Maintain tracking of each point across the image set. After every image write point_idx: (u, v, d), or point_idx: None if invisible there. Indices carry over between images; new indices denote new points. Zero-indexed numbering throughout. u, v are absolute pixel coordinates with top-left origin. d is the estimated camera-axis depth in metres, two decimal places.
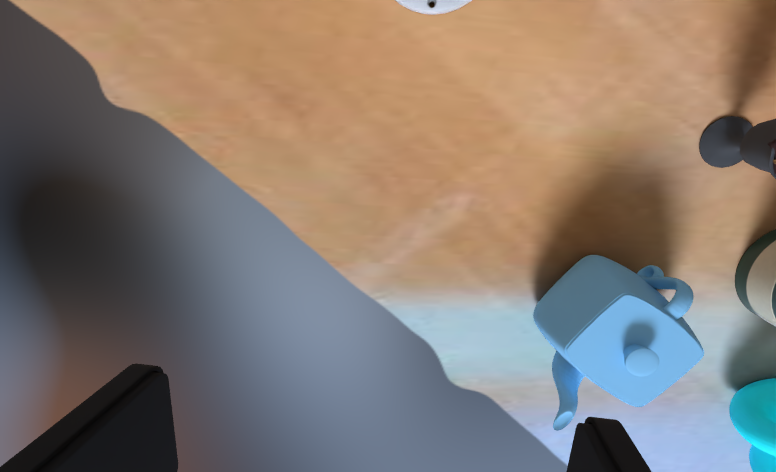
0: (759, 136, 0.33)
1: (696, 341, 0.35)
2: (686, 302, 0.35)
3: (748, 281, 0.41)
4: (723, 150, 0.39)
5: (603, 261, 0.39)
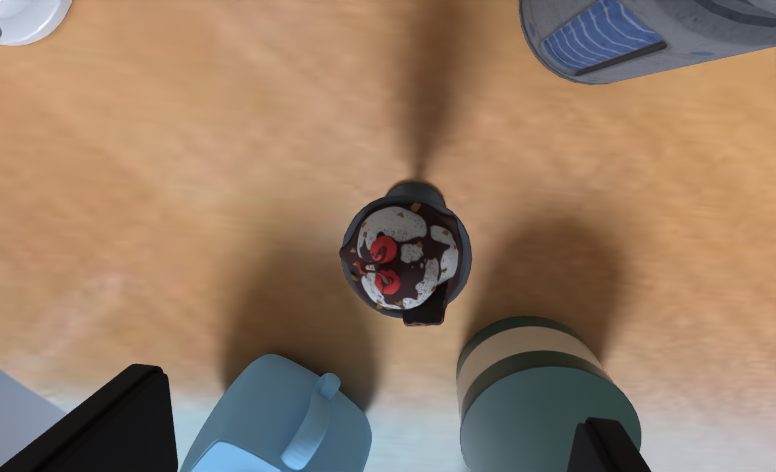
0: None
1: None
2: (303, 450, 0.25)
3: (458, 391, 0.31)
4: None
5: (252, 373, 0.30)
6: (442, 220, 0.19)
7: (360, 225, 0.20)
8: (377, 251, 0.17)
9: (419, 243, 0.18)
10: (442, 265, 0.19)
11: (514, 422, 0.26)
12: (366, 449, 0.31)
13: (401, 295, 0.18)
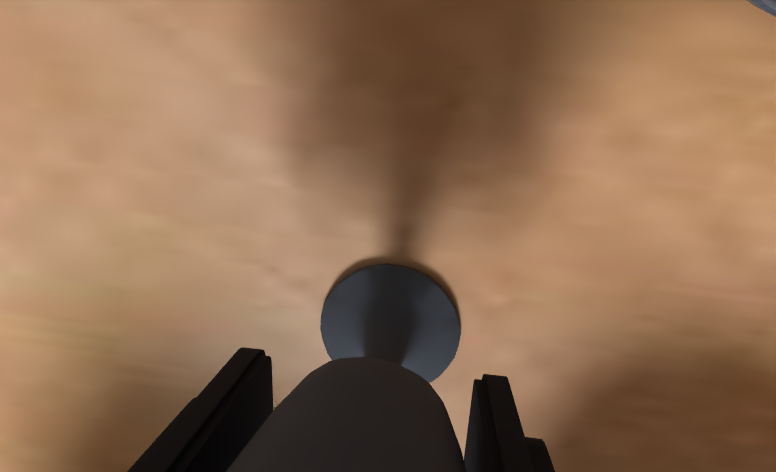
0: None
1: None
2: None
3: None
4: None
5: None
6: None
7: None
8: None
9: None
10: None
11: None
12: None
13: None
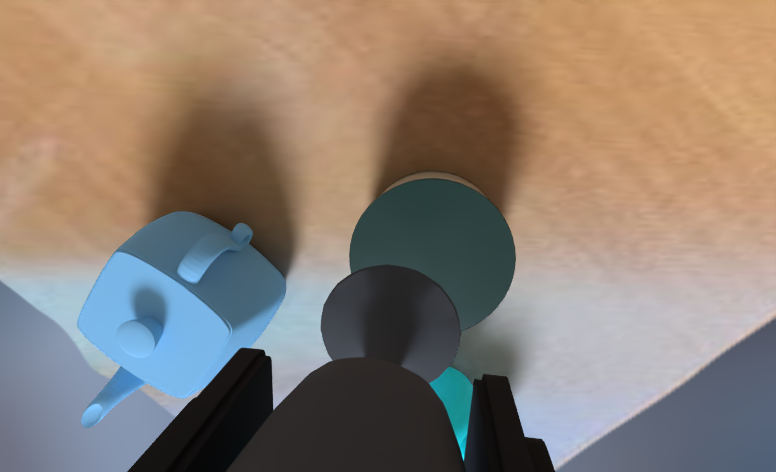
0: None
1: (218, 313, 0.27)
2: (196, 261, 0.27)
3: None
4: None
5: (165, 216, 0.32)
6: None
7: None
8: None
9: None
10: None
11: (397, 241, 0.27)
12: (273, 293, 0.32)
13: None
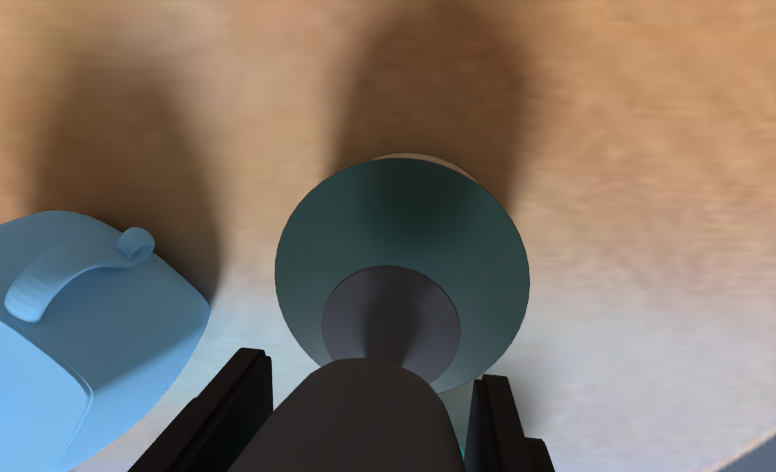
0: None
1: (69, 368, 0.18)
2: (30, 288, 0.17)
3: None
4: None
5: (22, 218, 0.22)
6: None
7: None
8: None
9: None
10: None
11: (346, 256, 0.18)
12: (181, 328, 0.23)
13: None
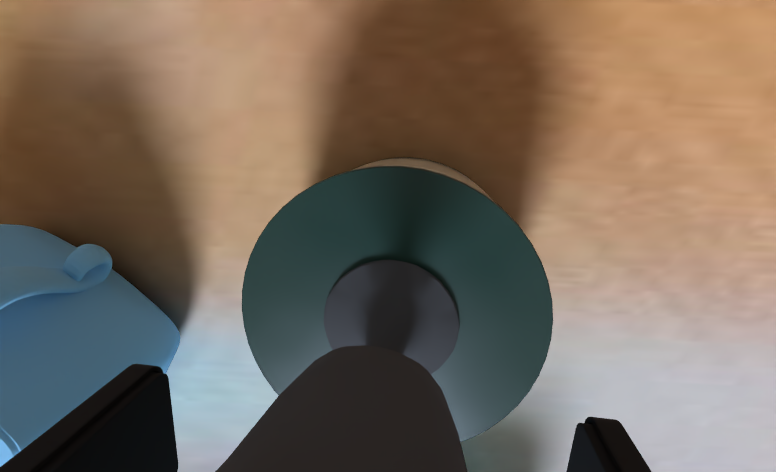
0: None
1: None
2: None
3: None
4: None
5: None
6: None
7: None
8: None
9: None
10: None
11: (328, 286, 0.14)
12: (140, 361, 0.19)
13: None
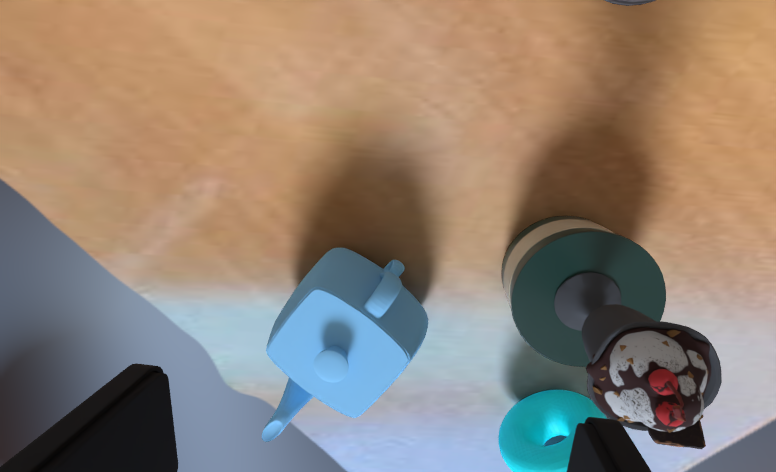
0: (591, 335, 0.24)
1: (399, 344, 0.31)
2: (383, 299, 0.31)
3: (504, 279, 0.37)
4: (580, 315, 0.30)
5: (333, 254, 0.36)
6: (696, 345, 0.21)
7: (613, 345, 0.21)
8: (662, 385, 0.19)
9: (688, 372, 0.20)
10: (701, 390, 0.20)
11: (558, 284, 0.31)
12: (425, 323, 0.36)
13: None
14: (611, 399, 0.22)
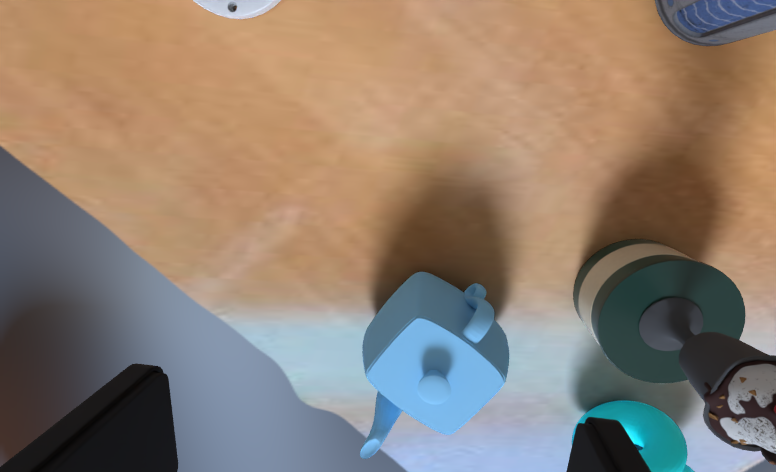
0: (697, 362, 0.27)
1: (495, 367, 0.33)
2: (482, 325, 0.33)
3: (579, 300, 0.39)
4: (665, 337, 0.33)
5: (420, 280, 0.37)
6: None
7: (731, 377, 0.23)
8: None
9: None
10: None
11: (643, 308, 0.33)
12: (507, 343, 0.38)
13: None
14: (727, 424, 0.24)
